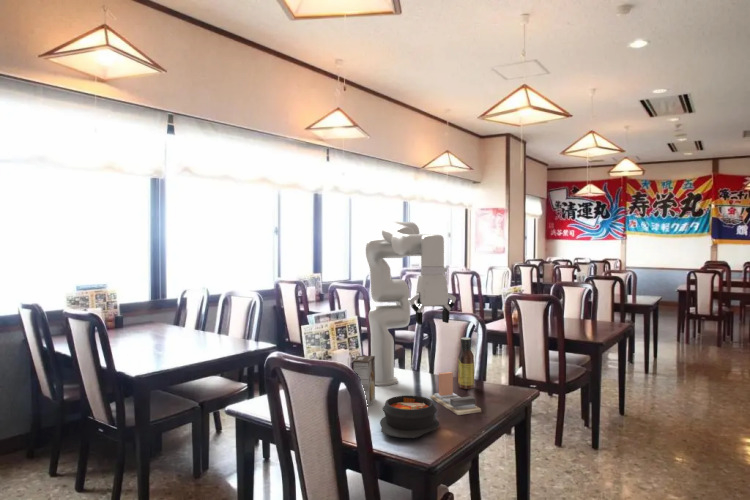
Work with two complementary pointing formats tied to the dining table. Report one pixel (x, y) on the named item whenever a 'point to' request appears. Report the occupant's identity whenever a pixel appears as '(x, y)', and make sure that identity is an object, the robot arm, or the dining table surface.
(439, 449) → the dining table surface
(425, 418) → the casserole
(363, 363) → the coffee box
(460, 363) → the sauce bottle
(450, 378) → the tan and white stand
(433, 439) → the dining table surface
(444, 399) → the ticket board
